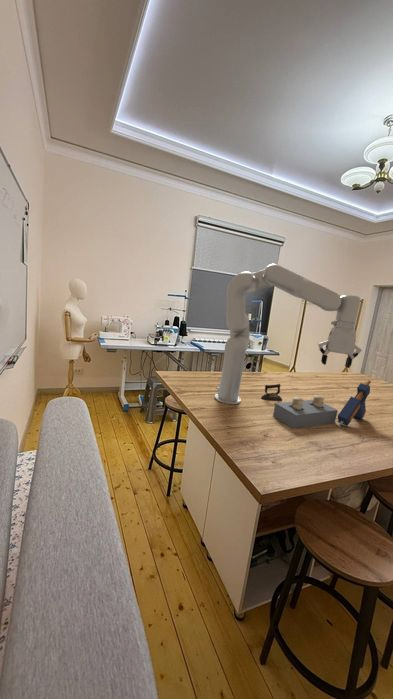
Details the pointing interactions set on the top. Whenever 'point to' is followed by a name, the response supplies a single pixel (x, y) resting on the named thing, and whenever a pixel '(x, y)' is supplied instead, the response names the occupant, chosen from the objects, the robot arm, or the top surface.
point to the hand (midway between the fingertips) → (335, 365)
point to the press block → (304, 414)
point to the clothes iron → (272, 395)
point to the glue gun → (355, 405)
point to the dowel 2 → (317, 401)
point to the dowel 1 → (297, 403)
